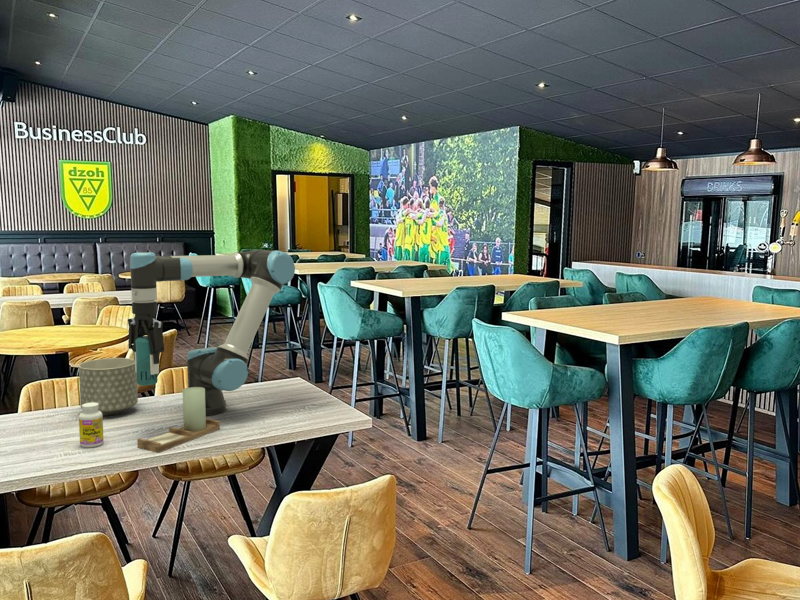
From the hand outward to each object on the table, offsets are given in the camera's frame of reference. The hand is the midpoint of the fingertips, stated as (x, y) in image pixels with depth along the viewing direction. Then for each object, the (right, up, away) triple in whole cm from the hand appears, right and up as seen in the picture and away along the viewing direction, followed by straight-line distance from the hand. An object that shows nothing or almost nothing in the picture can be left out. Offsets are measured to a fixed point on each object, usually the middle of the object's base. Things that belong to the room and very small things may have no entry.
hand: (147, 372), depth 209 cm
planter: (-24, -18, +28) cm, 41 cm away
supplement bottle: (-15, -22, -7) cm, 27 cm away
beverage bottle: (0, -5, +1) cm, 5 cm away
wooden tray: (+11, -21, 0) cm, 24 cm away
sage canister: (+14, -19, +6) cm, 24 cm away
